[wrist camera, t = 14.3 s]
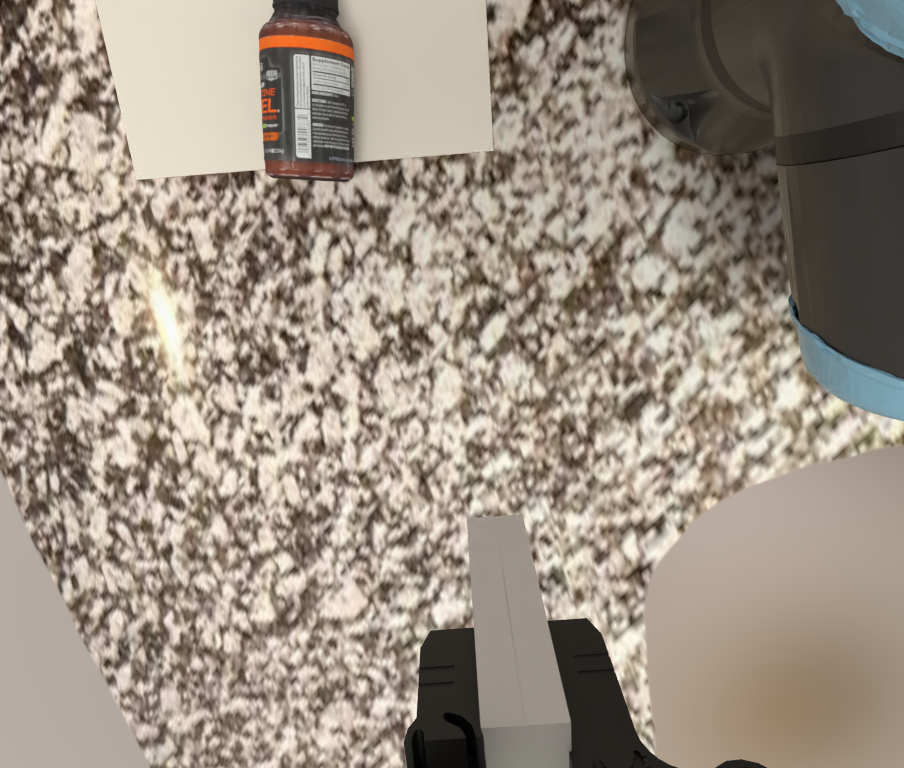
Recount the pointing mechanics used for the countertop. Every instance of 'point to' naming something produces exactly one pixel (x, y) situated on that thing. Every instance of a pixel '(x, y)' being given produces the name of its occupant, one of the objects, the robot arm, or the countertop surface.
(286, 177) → the supplement bottle
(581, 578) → the countertop surface
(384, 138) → the mat
